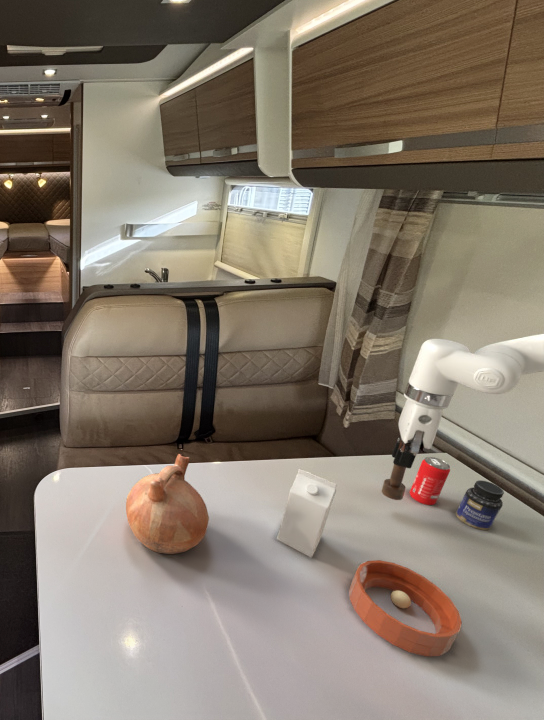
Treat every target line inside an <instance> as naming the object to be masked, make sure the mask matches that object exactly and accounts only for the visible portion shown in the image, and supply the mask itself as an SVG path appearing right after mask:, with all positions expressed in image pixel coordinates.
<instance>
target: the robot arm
mask: <svg viewBox="0 0 544 720" xmlns="http://www.w3.org/2000/svg"><path fill="white" fill-rule="evenodd" d="M542 372H544V333H540V334H533V335H529V336H528V335H527V336H524V337H518V338H513V339H508V340H503V341H499V342H495V343H491V344H490V343H489V344H487V345H484V346H482V347H480V348H478V349H477V350H476V351H475V352H474V353H472V352H471V351H470V349H469V347H468V346H466V345H465V344H463V343H461V342H458V341H454V340H450V339H444V338H430V339H427V340H425V341H424V342H423V343H422V344H421V346H420V349H419V352H418V355H417V357H416V360H415V362H414V365H413V368H412V370H411V373H410V376H409V378H408V382H407V385H406V387H405V389H404V392H403V397H404V398H405V399H406V400H405V403H404V405H403V408H402V410H401V413H400V416H399V419H398V429H399V435H398V438H397V441H396V443H395V445H394V448H393V450H392V453H391V457H392V458H394V459H393V460H392V461H393V462H392V463H393V465H394V464H395V465H398V466H402V467H405V468H406V469H411V468H412V467H413V464H414V462H415V459H416V456H417V455H418V454H419V452H420V451H419V450H420V448H421V445H422V444H423V448H424V449H426V450H430V449H432V447H433V444H434V441H435V438H436V436H437V432H438V430H439V427H440V423H441V420H442V415H443V411H444V410H445V409H448V408H449V406H450V404H451V401H452V400H453V399H452V398H453V397H454V394H455V392H456V389H457V387H458V385H459V384H460V385H463V386H465V387H467V388H470V389H472V390H474V391H477V392H480V393H482V394H483V393H484V394H487V395H488V394H489V395H500V394H506V393H508V392H510V391H512V390H513V389H515V388H516V387H517V386H518V384H519V383H520V380H521V376H523V375H529V374H530V375H531V374H535V373H542ZM401 440H402V441H403V443H402V445H401V448H400V449H398V448H399V444H400V441H401ZM407 444H410V445H411V446H408V445H407ZM406 445H407V446H406Z"/></svg>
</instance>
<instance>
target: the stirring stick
mask: <svg viewBox="0 0 544 720" xmlns="http://www.w3.org/2000/svg"><path fill="white" fill-rule="evenodd" d="M399 443H400V444H399V448H398V449H400V448H401V445H402V443H403V441H402V440H401V441H400V442H399ZM407 445H408V446H411V445H410V444H407ZM407 445H406V446H407ZM406 470H407V468H405V467H402V466H398V465H395V464H394V463H393V467H392V470H391V474H390V476H389V478H386V479H384V481H383V484H382V487H381V493H382V495H383V496H385V497H386V498H388V499H391V500H395V501H401V500H403V498H404V495H405V491H406V485H405V484H404V483H403V481H404V476H405V473H406Z"/></svg>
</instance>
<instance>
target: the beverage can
mask: <svg viewBox="0 0 544 720" xmlns="http://www.w3.org/2000/svg"><path fill="white" fill-rule="evenodd" d="M450 472H451V466H450V464H449V463H447V461H445V460H442V459H440V458H437V457H433V456H427V457H424V459H422V460H421V463H420V466H419V468H418V470H417V472H416V475H415V478H414V479H413V482H412V485H411V488H410V490H409V495H410V497H411V498H412V499H413V500H414V501H416V502H418V503H420V504H423V505H426V506H434V505H435V504H436V503H437V502H438V499H439V497H440V494H441V493H442V490H443V488H444V486H445V483H446V481H447V479H448V477H449V475H450Z"/></svg>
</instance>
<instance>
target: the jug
mask: <svg viewBox="0 0 544 720" xmlns="http://www.w3.org/2000/svg"><path fill="white" fill-rule="evenodd" d="M189 464H190V457H189V456H186V455H185V454H182V453H178V454H177V456H176V458H175V461H174V464H173V465H166V466H165V467H164V468H162V469H161V470H160V471H159V472H158V473H157V472H156V473H151V474H148V475H146V476H143V477H142V478H141V479H139V480H138V481H137V482H136V483H134V484H133V486H132V487H131V489H130V491H129V492H128V494H127V497H126V501H125V511H126V512H125V513H126V518H127V522H128V523H127V524H128V525H129V527H130V530H131V531H132V534H133V535H134V536H135V538H136V539H137V541H139V542H140V543H141V544H142V545H143V546H144V547H146V548H147V549H148V550H150V551H153V552H156V553H159V554H165V555H173V554H179V553H180V554H181V553H184V552H187V551H189V550H191V549H192V548H195V547H196V546H198V544H199V543H200V542H202V540H203V539H204V537H205V536H206V533H207V531H208V526H209V521H210V517H209V512H208V508H207V505H206V503H205V501H204V499H203V497H202V496H201V494H200V493H199V491H198V490H197V489H195V488H194V486H193V485H192V484H191V483H189V482H188V481H187V480H186V477H185V476H186V472H187V470H188V466H189Z"/></svg>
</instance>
